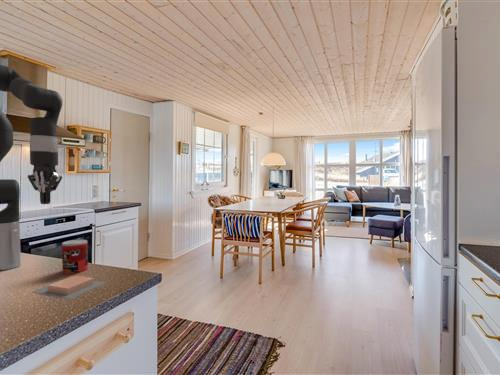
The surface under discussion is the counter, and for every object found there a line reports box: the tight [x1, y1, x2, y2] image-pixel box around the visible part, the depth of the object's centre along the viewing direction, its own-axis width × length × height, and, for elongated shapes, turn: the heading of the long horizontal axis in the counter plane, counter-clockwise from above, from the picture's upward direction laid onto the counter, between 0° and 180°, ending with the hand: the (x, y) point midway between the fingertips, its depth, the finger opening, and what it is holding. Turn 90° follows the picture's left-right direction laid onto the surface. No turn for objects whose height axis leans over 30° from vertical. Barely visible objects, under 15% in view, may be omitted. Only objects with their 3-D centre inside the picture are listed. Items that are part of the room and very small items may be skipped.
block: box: [47, 275, 95, 295], centre depth 90 cm, size 2×9×8 cm
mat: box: [31, 280, 106, 300], centre depth 91 cm, size 15×13×1 cm
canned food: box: [61, 239, 89, 275], centre depth 107 cm, size 8×8×11 cm
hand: (45, 203), depth 97 cm, fingers closed
